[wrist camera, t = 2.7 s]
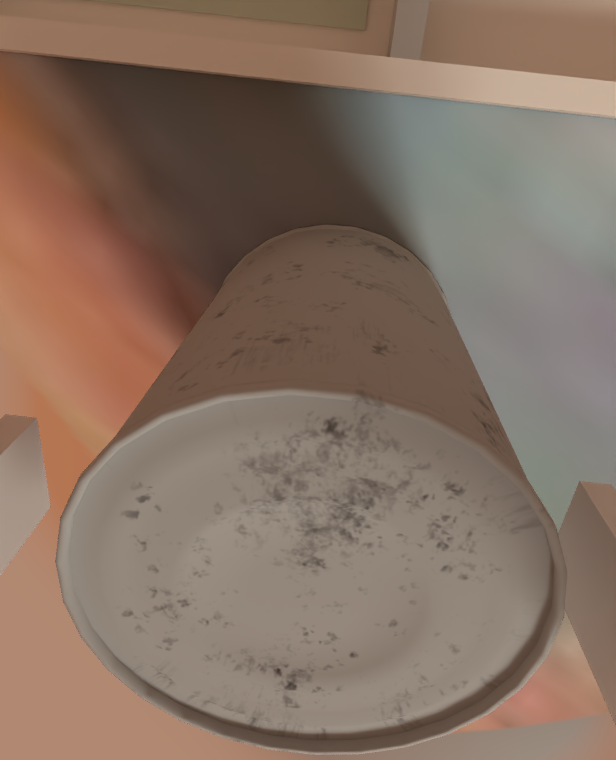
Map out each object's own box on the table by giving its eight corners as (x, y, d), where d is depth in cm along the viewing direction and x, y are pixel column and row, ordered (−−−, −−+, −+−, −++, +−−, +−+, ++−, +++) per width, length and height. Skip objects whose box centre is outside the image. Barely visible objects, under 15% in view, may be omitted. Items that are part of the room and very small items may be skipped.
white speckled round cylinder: (502, 365, 21) (666, 649, 10) (315, 486, 24) (285, 799, 13) (346, 164, 18) (338, 255, 7) (158, 332, 21) (-44, 570, 10)
